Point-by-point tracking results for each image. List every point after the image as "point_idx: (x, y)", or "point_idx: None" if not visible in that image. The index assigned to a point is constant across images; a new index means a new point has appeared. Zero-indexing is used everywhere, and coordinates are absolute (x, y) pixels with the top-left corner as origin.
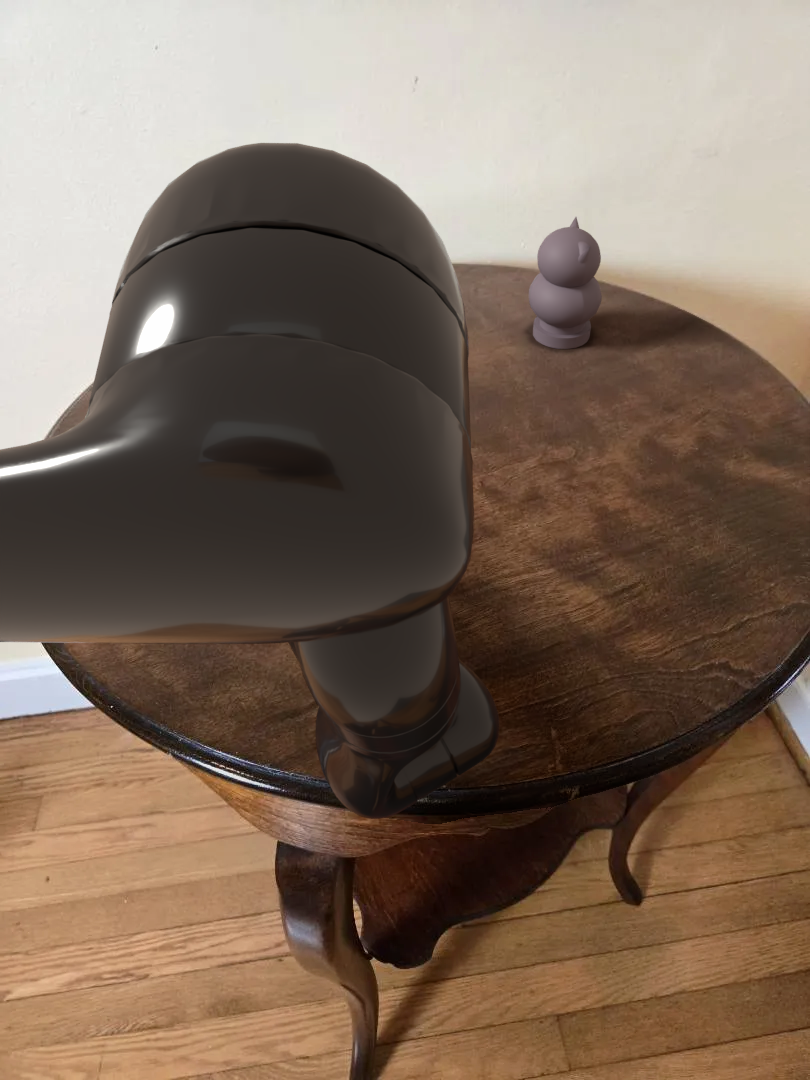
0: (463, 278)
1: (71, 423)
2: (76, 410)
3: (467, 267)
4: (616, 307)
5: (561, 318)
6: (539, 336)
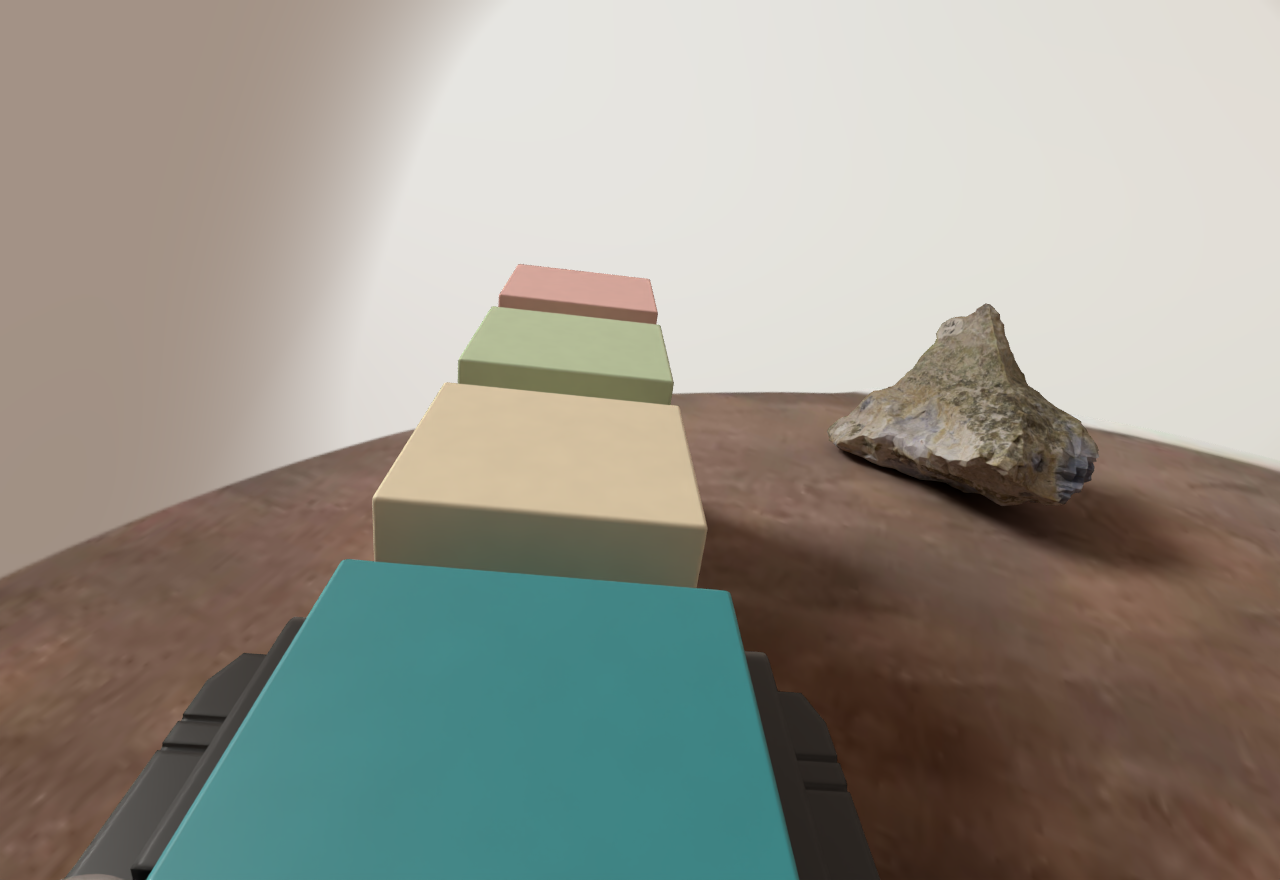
0: (1274, 489)
1: (306, 467)
2: (346, 447)
3: (1271, 473)
4: None
5: None
6: None
